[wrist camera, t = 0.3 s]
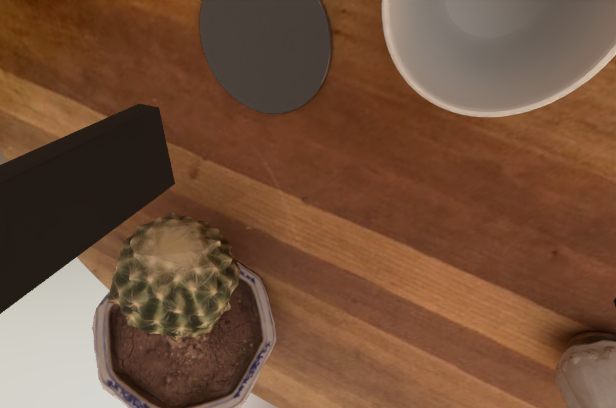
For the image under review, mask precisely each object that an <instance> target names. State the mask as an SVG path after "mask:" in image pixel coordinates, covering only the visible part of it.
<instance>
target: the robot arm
mask: <svg viewBox="0 0 616 408" xmlns="http://www.w3.org/2000/svg"><path fill="white" fill-rule="evenodd" d="M174 184H175V181H174V177H173V172H172V167H171V162H170V158H169V153H168V148H167V144H166V139H165V134H164V130H163V125H162V120H161V116H160V111H159V107H153V106H148V105H143V104H137V105H135V106H133V107H130V108H128V109H126V110H124V111H121V112H119V113H117V114H115V115H112V116H110V117H108V118H106V119H103V120H101V121H99V122H96V123H94V124H92V125H90V126H87V127H85V128H83V129H81V130H78V131H76V132H74V133H72V134H69V135H67V136H65V137H63V138H60V139H58V140H56V141H54V142H51V143H49V144H47V145H45V146H42V147H40V148H38V149H35V150H33V151H31V152H29V153H26V154H24V155H22V156H20V157H17V158H15V159H13V160H11V161H8V162H6V163H4V164H2V165H0V314H1V313H2V312H3V311H5V310H6V309H7V308H9V307H10V306H11V305H13V304H14V303H15V302H17V301H18V300H19V299H21V298H22V297H23V296H24V295H26V294H27V293H29V292H30V291H31V290H33V289H34V288H36V287H37V286H38V285H39V284H41V283H42V282H44V281H45V280H46V279H48V278H49V277H50V276H52V275H53V274H54V273H56V272H57V271H58V270H60V269H61V268H62V267H64V266H65V265H66V264H68V263H69V262H70V261H72V260H73V259H75V258H76V257H77V256H79V255H80V254H81V253H83V252H84V251H85V250H87V249H88V248H89V247H91V246H92V245H93V244H95V243H96V242H97V241H99V240H100V239H101V238H103V237H104V236H105V235H107V234H108V233H109V232H111V231H112V230H113V229H115V228H116V227H118V226H119V225H120V224H122V223H123V222H124V221H126V220H127V219H128V218H130V217H131V216H132V215H134V214H135V213H136V212H138V211H139V210H140V209H142V208H143V207H144V206H146V205H147V204H148V203H150V202H151V201H152V200H154V199H155V198H157V197H158V196H159V195H161V194H162V193H163V192H165V191H166V190H167V189H169V188H170V187H171V186H173V185H174ZM614 303H615V306H616V298H615V300H614Z"/></svg>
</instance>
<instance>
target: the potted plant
mask: <svg viewBox="0 0 616 408" xmlns="http://www.w3.org/2000/svg"><path fill="white" fill-rule="evenodd" d="M231 248H232V246H230V244H229V242H228V241H227V239H226V238H225V237H224V236H223V235H222V234H221V233H220V231H219V229H217V228H212V227H210V223H209V222H206V221H197V220H196V219H194V218H192V217H190V216H188V217H187V216H183V217H179V216H178V215H176V214H175V213H170V214H169V215H168V216H167V217H165V218H161V217H159V218H157V219H156V220H155V221H152V222H150V223H148V224H145V225H137V227H136V230H135V233H134V234H133V236H132V237H129V238H127V239H126V240H125V242H124V244H123V246H122V248H121V255H120V258H119V259H118V261H117V266H116V270H115V272H114V273H113V278H112V285H111V290H110V292H109V293H108V294H107V295H106V296H105V298H104V299H103V300H102V302H101V303H100V304H99V306H98V307H97V308H96V312H95V315H94V322H93V334H94V350H95V354H96V360H97V368H98V375H99V380H100V382H101V384H102V386H103V388H104V389H105V390H106V391H107V392H109V393H110V394H111V395H112V396H114V397H116V398H118V399H119V400H120V401H121V402H123V403H124V404H125V405H126V406H127V407H128V408H241V406H242V405H243V404H244V403H245V401H246V399H247V398H248V396H249V394H250V392H251V390H252V389H253V387H254V385H255V383H256V381H257V379H258V377H259V374H260V372H261V370H262V367H263V365H264V363H265V362H266V360H267V358H268V357H269V355H270V353H271V351H272V349H273V347H274V344H275V342H276V332H275V323H274V320H273V317H272V313H271V308H270V303H269V299H268V296H267V293H266V290H265V287H264V284H263V282H262V280H261V279H260V278H259V277H258V276H257V275H256V274H255V273H253V272H252V271H250V270H249V269H247V268H245V267H243V266H242V265H241V264H240V263H238V262H236V260H235V259H234V257H233V255H232V253H231V252H230V250H231Z"/></svg>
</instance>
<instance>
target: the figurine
mask: <svg viewBox="0 0 616 408" xmlns="http://www.w3.org/2000/svg"><path fill="white" fill-rule="evenodd" d="M556 369H557V372H556V376H555V382H556V385H557V386H558V387H559V390H560V392H561V394H562V397H563V399H564V401H565V403H566V404H567V406H568V408H616V334H614V333H613V334H611V333H607V332H602V331H593V332H592V331H586V332H582V333H579V334H577V335H575V336H574V337H572V338H571V339H570V340H569V342H568V344H567V350H566V351H565V352H564V353H563V354H562V355H561V358H560V361H559V363H558V365H557V368H556Z"/></svg>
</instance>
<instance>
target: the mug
mask: <svg viewBox="0 0 616 408" xmlns="http://www.w3.org/2000/svg"><path fill="white" fill-rule="evenodd" d="M381 13H382V26H383V33H384V37H385V42H386V45H387V48H388V51H389V54H390V56H391V58H392V61H393V63H394V64H395V66H396V68H397V70H398V71H399V73H400V74H401V76H402V77H403V78H404V80H405V81H406V82H407V83H408V84H409V85H410V86H411V87H412V88H413V89H414V90H415V91H416V92H417V93H418V94H419V95H421V96H422V97H423V98H425V99H426V100H428V101H429V102H431V103H432V104H434V105H436V106H438V107H440V108H443V109H445V110H448V111H451V112H454V113H457V114H462V115H467V116H474V117H503V116H510V115H516V114H520V113H524V112H528V111H531V110H534V109H537V108H540V107H542V106H545V105H547V104H550V103H552V102H554V101H556V100H558V99H560V98H562V97H564V96H566V95H567V94H569V93H571V92H572V91H574V90H576V89H577V88H578V87H580V86H581V85H583V84H584V83H585V82H587V81H588V80H589V79H591V78H592V77H593V76H594V75H595V74H597V73H598V72H599V71H600V70H601V69H602V68H603V67H604V66H605V65H606V64H607V63H608V62H609V61H610V60H611V59H612V58H613V57H614V56H615V55H616V0H382V4H381Z"/></svg>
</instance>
